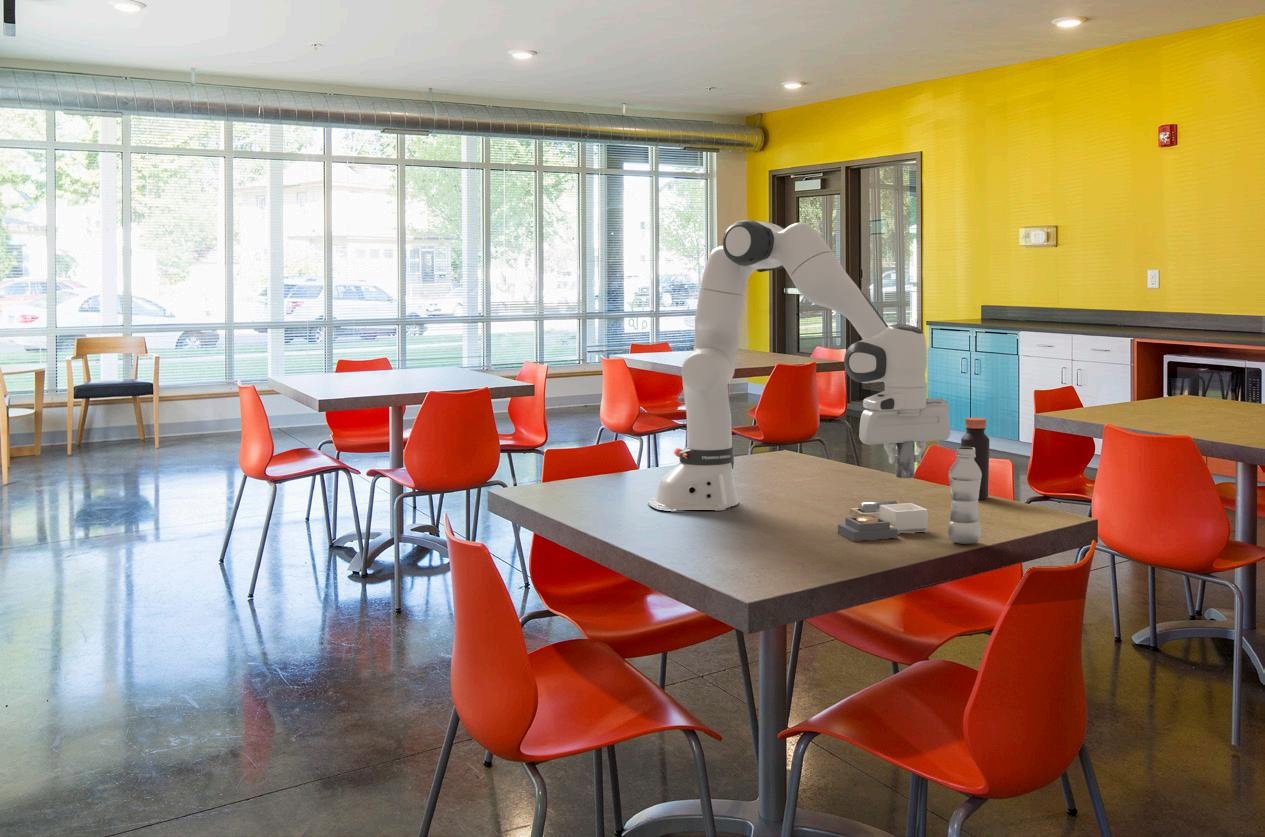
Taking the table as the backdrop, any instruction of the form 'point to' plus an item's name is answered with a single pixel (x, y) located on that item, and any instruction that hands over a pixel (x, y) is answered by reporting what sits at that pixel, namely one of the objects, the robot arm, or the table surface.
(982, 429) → the vinegar
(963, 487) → the plastic bottle
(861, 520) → the copper disc
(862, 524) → the cradle
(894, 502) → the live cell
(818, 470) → the table surface
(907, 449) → the cylinder
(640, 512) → the table surface
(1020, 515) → the table surface
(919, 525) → the white square box
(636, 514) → the table surface
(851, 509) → the trough
